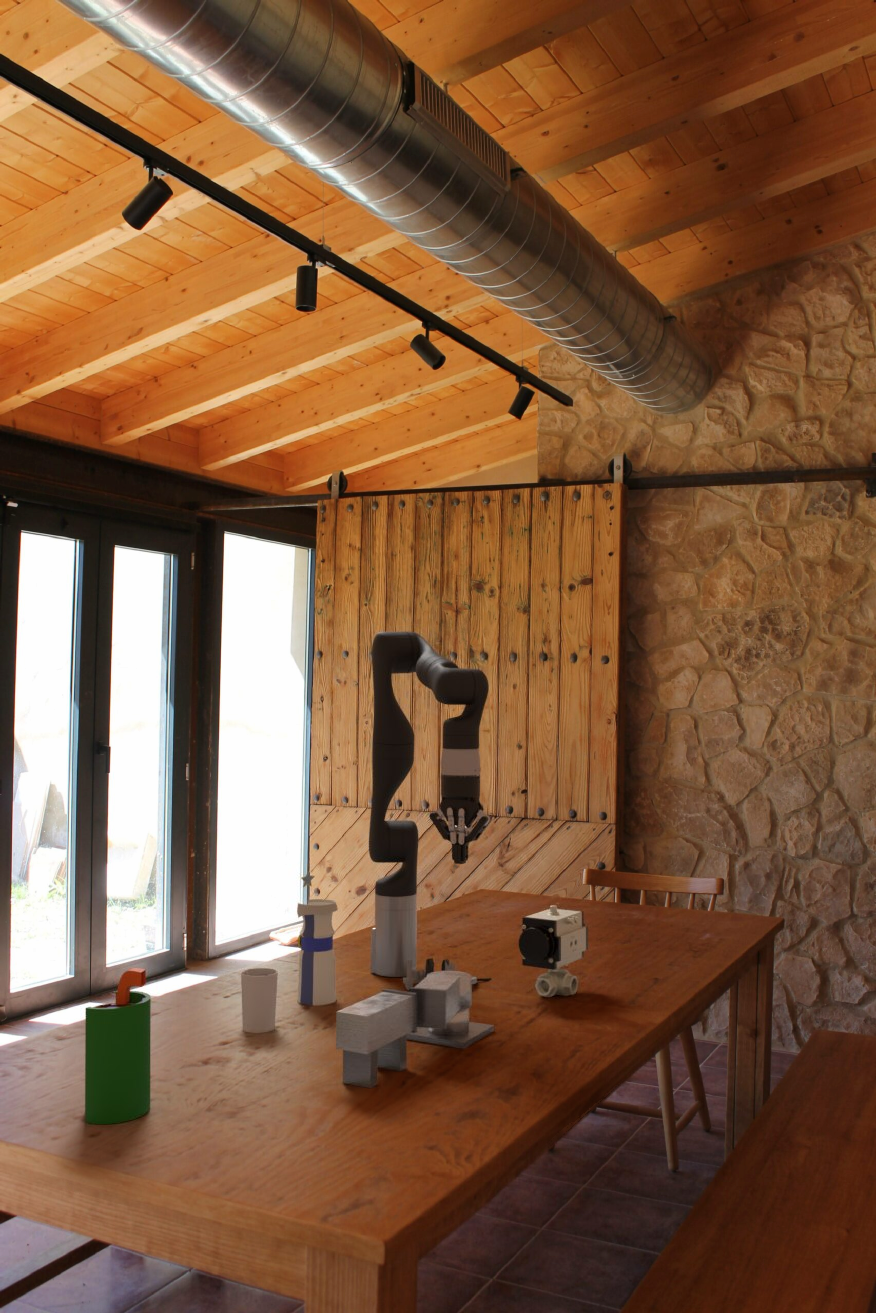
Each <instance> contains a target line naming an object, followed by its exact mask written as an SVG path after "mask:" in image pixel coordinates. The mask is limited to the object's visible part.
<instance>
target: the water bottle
mask: <svg viewBox="0 0 876 1313" xmlns="http://www.w3.org/2000/svg"><path fill="white" fill-rule="evenodd" d="M300 878H301V880H302V881H303V885H302V888H305V887H306V886H309V887H312V880H313V879H314V878H315V875H311V874H310V872H309V871H308V870H307V872H306V875H304V876H301V877H300ZM337 911H338V904H337V901H336V900H333V899H332V900H331V899H322V898H320V899H319V898H313V899H308V900H307V904H304V903H303V904H302V903H299V902H297V908H296V913H297V914H296V915H297V917H298V919H299V918H300V917H302V921H303V923H302V927H301V929H300V931H299V935H298V937H297V945H298V948H299V949H300V951H299V956H298V980H297V981H298V982H297V997H296V998H297V999H296V1000H297V1001H296V1002H297V1003H299V1004H301V1005H304V1006H327V1005H331V1004H333V1003H336V1001H337V991H336V989H337V988H336V956H335V955H336V954H335V950H334V940H333V939H334V938H333V937H334V935H335V933H336V931H335V930H334V928H333V923H332V922H333V914H334V913H335V912H337Z"/></svg>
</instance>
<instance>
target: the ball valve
mask: <svg viewBox="0 0 876 1313" xmlns="http://www.w3.org/2000/svg"><path fill="white" fill-rule="evenodd" d="M584 914H585V913H584V910H578V909H577V910H576V909H566V908H561V907H559V908H558V906H557V905H555V904H554V905H553V904H552V905H550V907H549V909H548V908H547V909H544V910H543V911H539V912H536V913H532V914H529V915H526V916H523V917H522V918H521V919H522V920H521V921H522V923H521V925H522V926H521V928H522V929H521V931H522V933H521V934H520V936H519V939H518V948H519V952H520V954H521V955H522V956H521V958H522V962H521V963H522V966H524V967H532V968H538V969H539V968H540V969H545V970H548V971H546V972H544V973H542V974H540V975H539V976H538V977H537V978H536V982H535V984H534V987H535V990H536V991H537V994H538V995H539V996H543V997H544V998H551V997H553V996H555V995H557V996H563V997H568V996H572V995H574V994H576V992H577V991H578V986H579V982H578V977H577V976H576V975H573V974H571V973H570V972H569V970H568V969H565V968H562V967H568V966H569V964H570V963H573V962H576V961H578V960H581V959H582V958H584V957H585V955H584V953H585V951H588V950H589V944H588V943H589V927H588V925H586V923H585V921H584V918H585V917H584Z"/></svg>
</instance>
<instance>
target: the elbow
mask: <svg viewBox="0 0 876 1313" xmlns="http://www.w3.org/2000/svg"><path fill="white" fill-rule="evenodd" d="M471 977H472V974H470V973H468V972H466V971H461V970H455V971H441V970H438V971H434V972H432V973H429V974H427V977H425V978H424V979H423V980H422V981H421V982H419V983H418V984H417V983H416V985H415V986H413V987H410V988H409V990H408V992H413V993H417V1027H423V1028H435V1029H446V1024H447V1023H448V1022H449V1021H450V1019H451V1018H452V1017H453V1016H454V1015H455V1014H456V1013H457V1012H458V1011H459V1010H462V1009H466V1008H469V1009H470V1007H471V1006H472V984H471Z"/></svg>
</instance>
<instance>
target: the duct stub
mask: <svg viewBox="0 0 876 1313" xmlns="http://www.w3.org/2000/svg"><path fill="white" fill-rule="evenodd" d="M493 1032H495V1025H494V1024H488V1023H481V1022H474V1021H470V1007H469V1008H466V1009H462V1010H459V1011H458V1012H457V1013H456V1014H455V1015H454V1016H453V1017H452V1018H451V1019H450V1021H449V1022H448V1023H447V1024H446V1029H435V1028H423V1027H417V1032H416V1033H411V1032H410V1033H408V1034H407V1040H409V1041H414V1042H422V1043H426V1044H431V1045H437V1046H445V1047H452V1048H456V1049H466V1048H467V1047H468V1048H469V1047H470V1046H471V1045H472V1044H474V1043H476V1042H478V1041H479V1040H481V1039H483V1038H484V1037H486V1036H487V1035H489V1034H491V1033H493Z"/></svg>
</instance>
